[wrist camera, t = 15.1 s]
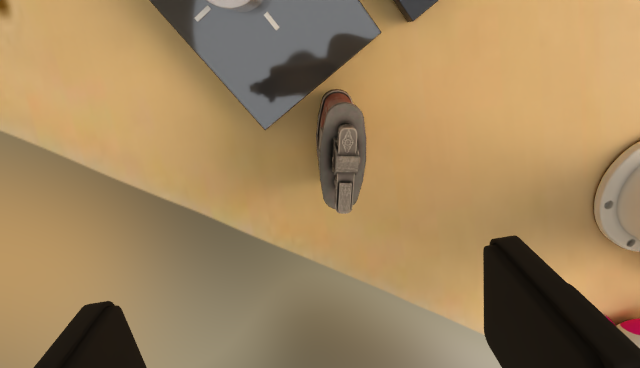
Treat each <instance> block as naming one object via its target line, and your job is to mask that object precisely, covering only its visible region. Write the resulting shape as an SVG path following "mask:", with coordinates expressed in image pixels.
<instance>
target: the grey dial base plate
mask: <svg viewBox="0 0 640 368" xmlns="http://www.w3.org/2000/svg"><path fill="white" fill-rule="evenodd" d="M149 1H150V2H151V3H152V4H153V5H154V6H155V7H156V8H157V10H158V11H159V12H160V13H161V14H162V15H163V16H164V17H165V18H166V20H167V21H168V22H169V23H170V24H171V25H172V26H173V27H174V29H175V30H176V31H177V32H178V33H179V34H180V35H181V36H182V38H183V39H184V40H185V41H186V42H187V43H188V44H189V45H190V47H191V48H192V49H193V50H194V51H195V52H196V53H197V54H198V56H199V57H200V58H201V59H202V60H203V61H204V62H205V63H206V64H207V66H208V67H209V68H210V69H211V70H212V71H213V72H214V73H215V75H216V76H217V77H218V78H219V79H220V80H221V81H222V82H223V84H224V85H225V86H226V87H227V88H228V89H229V90H230V91H231V93H232V94H233V95H234V96H235V97H236V98H237V99H238V100H239V102H240V103H241V104H242V105H243V106H244V107H245V108H246V109H247V110H248V112H249V113H250V114H251V115H252V116H253V117H254V118H255V119H256V121H257V122H258V123H259V124H260V125H261V126H262V127H263V128H264V130H266V129H267V128H269V127H270V126H271V125H272V124H273V123H275V122H276V121H277V120H278V119H279V118H281V117H282V116H283V115H284V114H285V113H286V112H288V111H289V110H290V109H291V108H292V107H294V106H295V105H296V104H297V103H298V102H300V101H301V100H302V99H303V98H304V97H306V96H307V95H308V94H309V93H310V92H311V91H313V90H314V89H315V88H316V87H317V86H319V85H320V84H321V83H322V82H323V81H325V80H326V79H327V78H328V77H329V76H331V75H332V74H333V73H334V72H335V71H336V70H338V69H339V68H340V67H341V66H342V65H344V64H345V63H346V62H347V61H348V60H350V59H351V58H352V57H353V56H354V55H355V54H357V53H358V52H359V51H360V50H361V49H363V48H364V47H365V46H366V45H367V44H369V43H370V42H371V41H372V40H373V39H375V38H376V37H377V36H378V35H379V34H380V33H381V31H380V30H379V28H378V27H377V25H376V24H375V22H374V21H373V20H372V18H371V17H370V15H369V14H368V12H367V11H366V10H365V8H364V7H363V5H362V4H361V2H360V1H359V0H263V2H262V3H261V4H260V5H259V6H258V7H256V8H255V9H253V10H251V11H248V12H243V13H239V12H233V11H230V10H227V9H224V8H221V7H217V6H215V5H213V4H211V3H210V2H208V1H207V0H149Z"/></svg>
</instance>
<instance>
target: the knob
mask: <svg viewBox="0 0 640 368" xmlns="http://www.w3.org/2000/svg"><path fill="white" fill-rule="evenodd" d="M207 1H208V2H210V3H211V4H213V5H215V6H217V7H221V8H224V9H227V10H230V11H233V12H239V13H243V12H248V11H251V10H253V9H255V8H256V7H258V6H259V5H260V4H261V3H262V2H263V0H207Z"/></svg>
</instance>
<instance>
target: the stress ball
mask: <svg viewBox="0 0 640 368" xmlns="http://www.w3.org/2000/svg"><path fill="white" fill-rule="evenodd" d="M606 317H607V316H606ZM607 318H608V317H607ZM608 319H609V318H608ZM609 320H610V319H609ZM610 321H611V320H610ZM611 322H612V321H611ZM612 323H613V322H612ZM613 324H614V323H613ZM614 325H615V324H614ZM615 326H616V325H615ZM616 327H617V328H618V329H620V330H621V331H622V332H623V333H624V334H625V335H626V336H627V337H628V338H629V339H630V340H631V341H632V342H633V343H635V344H636V345H637V346H638V347H639V348H640V318H639V319H631V320H628V321H625V322H622V323H620V324H618V325H617V326H616Z"/></svg>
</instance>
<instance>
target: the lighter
mask: <svg viewBox="0 0 640 368" xmlns="http://www.w3.org/2000/svg"><path fill="white" fill-rule="evenodd" d="M316 141H317V155H318V161H319V170H320V181H321V187H322V193H323V199H324V201H325V203H326V204H327V205H328V206H329V207H331V208H333V209H336V211H337V212H338V213H349V212H351V210H352V206H353V205H354V204H355V203H356V201H357V199H358V196H359V192H360V189H361V185H362V182H363V176H364V170H365V163H366V133H365V125H364V117H363V114H362V112H361V110H360V109H359V108H358V107H357V106H356V105H354V104H353V102H352V99H351V97H350V96H349V95H348V93H347V92H345V91H343V90H339V89H335V90H331V91H328V92H327V93H326V94H325V95H324V96H323V98H322V101H321V106H320V110H319V115H318V122H317V132H316Z"/></svg>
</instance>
